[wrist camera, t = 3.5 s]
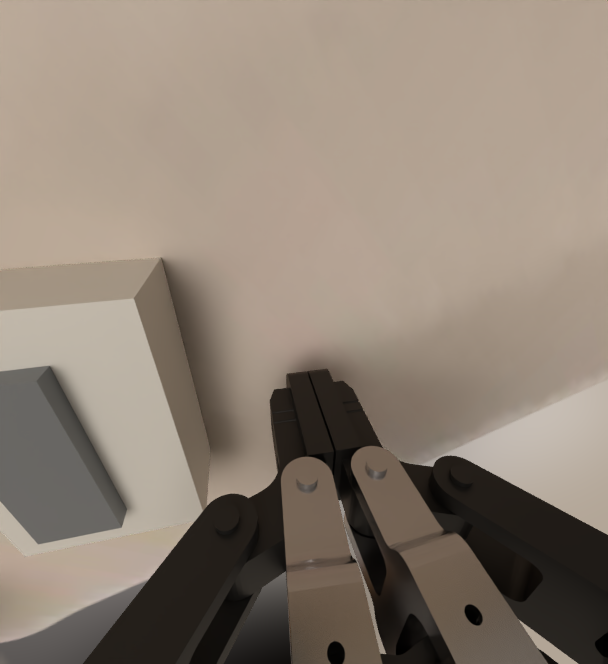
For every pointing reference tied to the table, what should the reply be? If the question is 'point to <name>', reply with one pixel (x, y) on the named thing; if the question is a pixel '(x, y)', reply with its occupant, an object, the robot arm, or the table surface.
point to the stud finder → (95, 407)
